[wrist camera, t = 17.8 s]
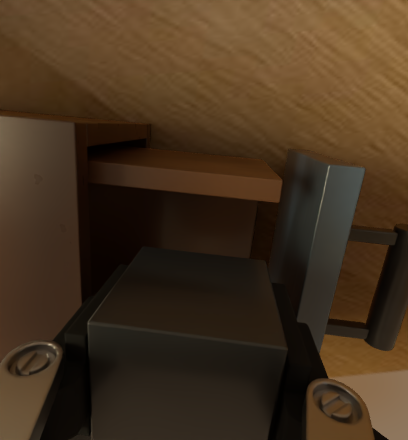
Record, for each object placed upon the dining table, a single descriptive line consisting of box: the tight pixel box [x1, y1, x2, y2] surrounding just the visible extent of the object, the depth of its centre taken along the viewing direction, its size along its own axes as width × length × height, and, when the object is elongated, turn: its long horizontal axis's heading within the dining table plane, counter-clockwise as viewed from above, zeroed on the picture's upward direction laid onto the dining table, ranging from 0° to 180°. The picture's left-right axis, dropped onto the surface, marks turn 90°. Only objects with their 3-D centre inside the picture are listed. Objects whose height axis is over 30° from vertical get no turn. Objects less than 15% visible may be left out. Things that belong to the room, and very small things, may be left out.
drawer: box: [87, 144, 408, 353], centre depth 15 cm, size 18×11×7 cm, turn 85°
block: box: [87, 246, 288, 440], centre depth 9 cm, size 4×4×4 cm
